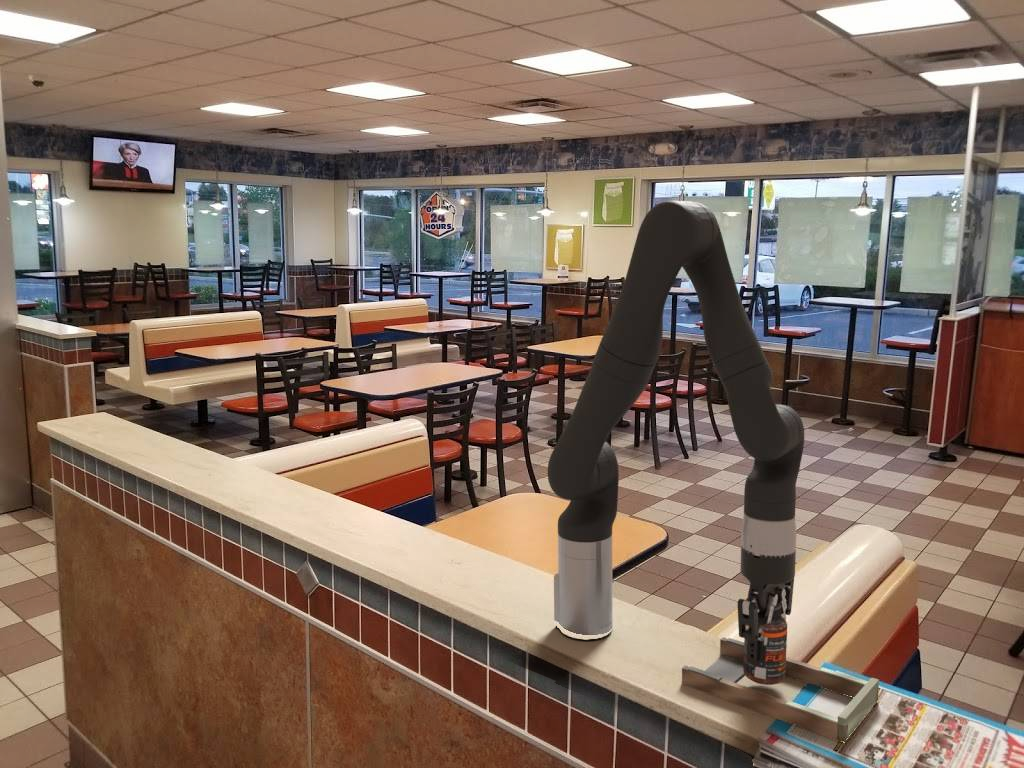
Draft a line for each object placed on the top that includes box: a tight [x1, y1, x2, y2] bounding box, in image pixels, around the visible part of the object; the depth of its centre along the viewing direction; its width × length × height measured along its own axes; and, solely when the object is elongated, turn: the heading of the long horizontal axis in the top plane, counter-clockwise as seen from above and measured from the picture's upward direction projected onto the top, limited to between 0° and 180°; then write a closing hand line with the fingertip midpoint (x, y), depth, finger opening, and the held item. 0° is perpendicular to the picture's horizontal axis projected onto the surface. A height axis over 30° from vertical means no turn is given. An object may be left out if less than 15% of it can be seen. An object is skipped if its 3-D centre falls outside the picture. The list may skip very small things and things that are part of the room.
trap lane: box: [681, 637, 880, 742], centre depth 118 cm, size 24×13×4 cm, turn 48°
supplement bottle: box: [743, 603, 788, 686], centre depth 119 cm, size 6×6×11 cm
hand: (764, 653), depth 119 cm, fingers closed on supplement bottle, 6 cm apart
